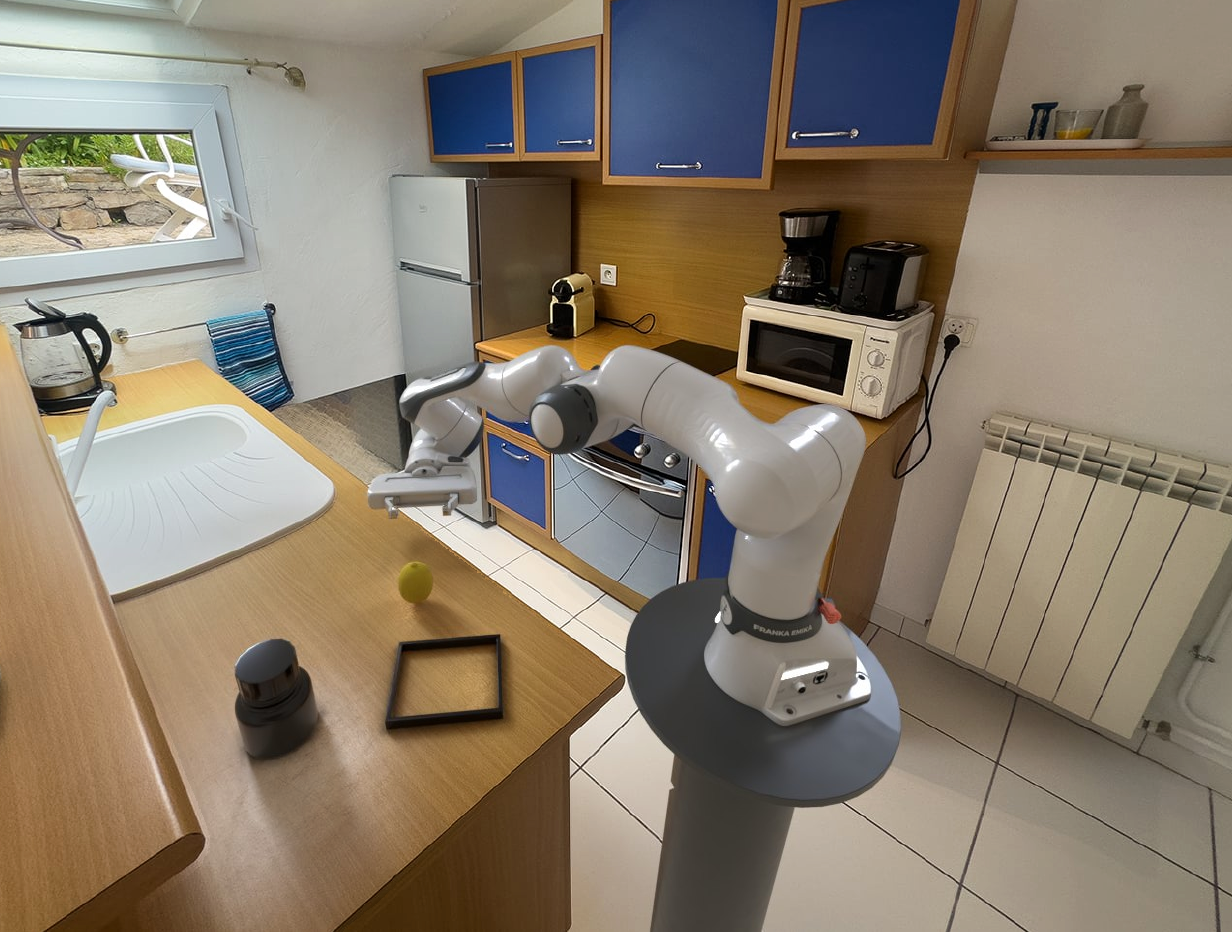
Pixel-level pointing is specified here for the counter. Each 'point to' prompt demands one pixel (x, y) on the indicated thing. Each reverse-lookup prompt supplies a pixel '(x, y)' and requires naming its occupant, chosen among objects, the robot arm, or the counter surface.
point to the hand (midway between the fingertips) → (419, 514)
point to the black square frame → (447, 716)
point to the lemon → (415, 582)
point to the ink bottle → (273, 700)
